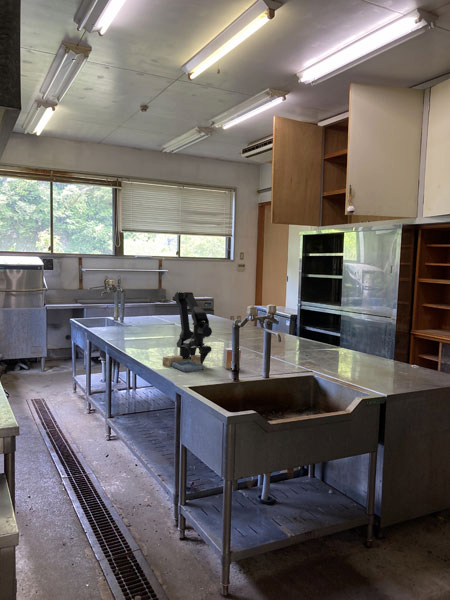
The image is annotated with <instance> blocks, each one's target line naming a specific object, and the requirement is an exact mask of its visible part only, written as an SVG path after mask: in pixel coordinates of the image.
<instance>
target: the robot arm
mask: <svg viewBox="0 0 450 600" xmlns="http://www.w3.org/2000/svg"><path fill="white" fill-rule="evenodd" d="M174 299H175V304H176V305H177V307H178V309H179V310H178V311H179V319H180V328H181V331H180V334H179V336H178V337H179V338H178V340H177V342H176V347H177V348H178V349H179V355H180V356H182V357H183V360H184V359H185V360H186V359H190V360H191V359H192V355H196V352H197V350H198V353H199V355H200V361H201V364H200V365H203V364H202V363H204V362H205V360H206V358H207V356H208V355H209V354H211V352H212V347H211V346H209V345H207V344H205V343H204V339H205V338H209V337H210V336H211V335H212V333H213V330H212V328H211V327H210V321H209V318H208V315H207V313H206V311H205V309H203V308H201V307H200V306H199V304H198V302H197V300H196V298H195V296H194V292H192V291H176V292H175V293H174ZM188 307H189V309H190V312H191V319H192V321H193V322H192V325H193V331H191V328H190V319H189V311H188Z"/></svg>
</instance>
